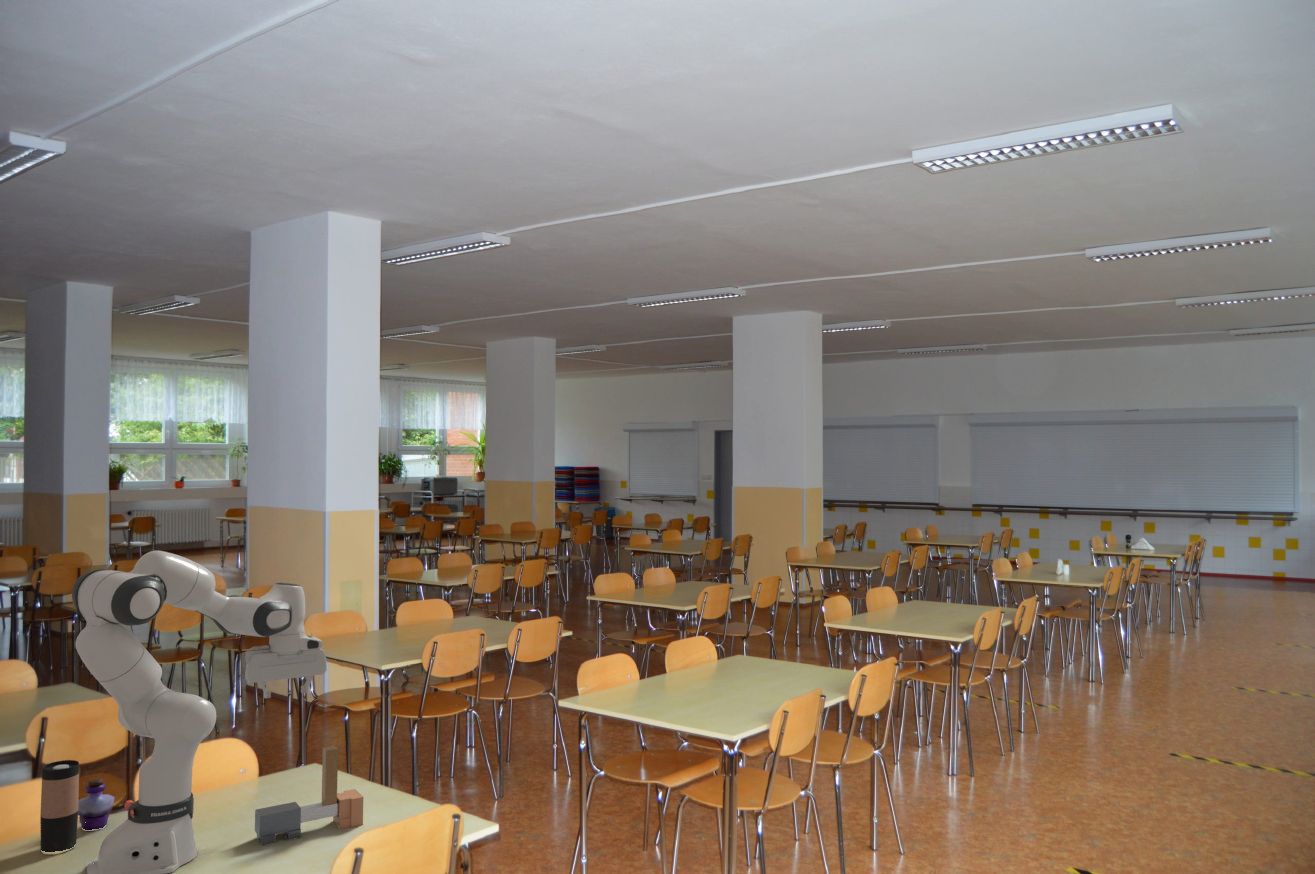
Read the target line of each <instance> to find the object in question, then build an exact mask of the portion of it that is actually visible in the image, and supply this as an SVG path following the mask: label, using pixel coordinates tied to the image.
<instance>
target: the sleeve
mask: <svg viewBox="0 0 1315 874" xmlns="http://www.w3.org/2000/svg"><path fill="white" fill-rule="evenodd" d="M300 807H301V806H300V805H299V804H298V803H297V802H296V801H293V802H292V801H291V802H287V803H282V804H276V805H272V806H267V807H262V808H257V809H254V810H255V811H254V832H255V833H256V838H257V840H258V842H259V841H260V842H259V843H260V845H261V846H262V847H263V846H268V845H272V844H276V835H279V834H283V835H284V836H285V838H286V839H287V841H291V840H294V839H299V838H301V837H302V835H301V834H302V829H301V824H302V823H301V808H300Z"/></svg>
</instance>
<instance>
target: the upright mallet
mask: <svg viewBox="0 0 1315 874" xmlns="http://www.w3.org/2000/svg"><path fill="white" fill-rule="evenodd" d="M338 761H339V748H338V747H337V746H336V745H329V746H324V747H322V764H321V765H322V767H321V772H322V774H321V802H318V803H312V804H307V805H302V806H300V808H301V824H303V823H307V822H308V823H309V822H311V821H316V820H321V819H327V818H331V817H333V816H337V815H339V801H338V800H337V794H338V774H339V773H338V772H339V770H338V765H339V762H338Z"/></svg>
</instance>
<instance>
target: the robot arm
mask: <svg viewBox="0 0 1315 874" xmlns="http://www.w3.org/2000/svg"><path fill="white" fill-rule="evenodd" d="M71 600H72V603H73V606H74V608H75V610H76V618H77V619H78V621H79V622H80V623H82V624H84V625H85V627H84V628H83V629H82V630H81V631H80V632H79V634H78V635H77V637H76V640H75V649H76V652H77V654H78V655H79V658H80V659H81V661H82V663H83V664H84V665H85V667H86V668H87V670H88V671H89V673H90V674H92V676H93V677H94V678H95V680H97V682H99V684H100V685H101V686H102V687H103V688H104V689H105V691H106V692H108V694H109V695H110V696H111V698H113V699H114V701H115V702H116V704H117V705H118V709H117V719H118V722H119V725H121V727H122V728H124V730H127V731H130V732H131V733H133V734H135V735H136V736H140V737H141V736H142V737H147V738H151V739H154V748H153V751H152V753H151V756H150V757H149V758H148V759H147V760H145V761H144V762H143V763H142V764H141V765H140V767H139V771H138V796H137V797H138V798H137V800H136V801H135V802H134V801H133V800H131V799H129V800H126V802H125V803H124V805H123V806H124V809H125V811H126V812H127V819H126V820H125V821H124V822H123V823H121V824H120V825H119V826H117V827H116V828H115V829H114V830H112V831H111V832H110V833H109V834H108V835H106V836H105V838H104V839H103V840H102V842H101V845H100V848H99V851H98V856H96V857H93V858H92V859H91V860H90V861H89V862H88V864H87V866H86V871H87V873H86V874H171V873H174V872H175V871H176V870H177V869H178V868H179V867H181V866H184V865H185V864H187V863H189V862H190V861H192V860H193V859H195V858H196V857H197V855H198V853H199V852H198V847H197V846H196V840H195V836H194V829H193V817H194V810H195V807H194V805H195V798H194V794H193V792H192V788H193V787H192V785H193V784H192V783H193V781H192V780H193V769H194V768H193V767H194V766H193V765H194V760H195V756H196V753H197V750H198V748H199V746H200V744H201V743H202V741H203V740H205V738H207V737H208V736H209V735H210V734H211V732H212V731H213V729H214V727H215V726H216V721H217V709H216V707H215V705H214V704H213V703H212V702H211V701H210V700H208V699H205V698H204V697H202V696H199V695H196V694H193V693H187V692H182V691H181V692H180V691H176V690H173V689H170V688H168V687H167V686H166V685H165V684H164V683H163V682H162V680H161V679H162V676H163V669H162V666H161V665H160V664H159V663H158V661H157V660H156V659H155V657H153V655H152V654H151V653H150V652H149V651H148V650H147V648H146V647H145V646H144V645H143V644H142V642H141V641H140V640H139V639H138V638H137V637H136V636H135V634H134V633H133V630H132V627H131V626H141V625H145V624H147V623H150V622H151V621H152V620H153V619H154V618H155V617H156V616H157V615H158V614H159V613H160V611H161V610H162V608H163V605H164V604H166V605H170V606H172V607H175V608H179V609H183V610H187V611H196V612H197V613H199V614H201V615H203V616H205V617H207V618H209V619H210V620H211V621H212V622H214V624H215V625H216V627H218V629H220V631H221V632H223V633H225V634H228V635H244V636H252V637H260V638H267V637H269V640H268V641H269V642H268V644H266V645H260V646H258V645H256V646H255V645H254V646H251V648H249V649H247V650H246V651H245V653H244V656H245V657H244V662H245V663H246V666H245V673H244V679H245V681H247V683H249V684H255V683H258V685H259V687H260V688H261V690H262V691H263V698H264V699H270V698H272V695H271V694H272V691H271V689H267V688H266V686H267V685H268V682H272V681H279V680H280V681H281V680H290V679H297V678H298V679H299V678H304V679H305V680H306V681H305V682H304V685H301V686H300V693H301V694H308V692H309V687H310V685H311V683H312V682H313V679H314V678H313V677H314V676H321V675H324V674H325V673H326V672H327V655H326V653H325V650H324V649H322V648H323V647H324V641H322V639H320V638H319V637H316V636H312V635H308V634H307V635H306V627H305V625H304V624H305V623H304V621H305V617H306V594H305V591H304V588H303V586H301V585H300V584H298V583H288V582H277V583H274V584H273V585H272V587H271V589H270V590H269V591H267V592H266V593H265V594H264V595H262V596H260V597H258V598H257V597H247V596H243V595H235V594H231V595H223V594H222V593H220V592H218V591H216V578H215V574H214V573H213V572H211V571H210V570H209V569H207V568H206V567H205V566H204V565H201V564H200V563H197V562H196V561H194V560H191V559H189V558H187V557H185V556H181V555H178V554H175V553H172V552H168V551H163V550H151V551H148V552H147V553H145V554H143V555H142V556H140V558H138V560H137V562H136V563H135V564H134V566H133V569H131V571H128V572H126V571H121V570H111V569H109V568H108V569H107V568H99V569H93V570H89V571H87V572H85V573H83V574H82V575H80V576H79V577H77V579H76V581H75V582H74V584H73V585H72V588H71ZM93 863H94V864H93Z"/></svg>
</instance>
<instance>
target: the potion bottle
mask: <svg viewBox="0 0 1315 874" xmlns="http://www.w3.org/2000/svg"><path fill="white" fill-rule="evenodd" d="M87 783H88V784H87V785H86V786H85V789H84V790H85V791H84V792H85V793H86V794H88V796H87V797H84V798H83V797H82V798H80V799H79V800H78V819H79V822H80V825H81V829H82V828H83V829H85V830H92V829H99V828H103V827H104V826H105V825H107V826H108V820H109V817H110V814H111V811H112V809H113V806H114V803H115V799H116V798H115V796H113V795H111V794H108V793H107V794H103V792H104V791H105V790H106V789H107V788H106V785H107V784H106V783H105V782H104V779H103V778H93V779H90V780H88V781H87ZM85 822H86V823H85Z"/></svg>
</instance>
